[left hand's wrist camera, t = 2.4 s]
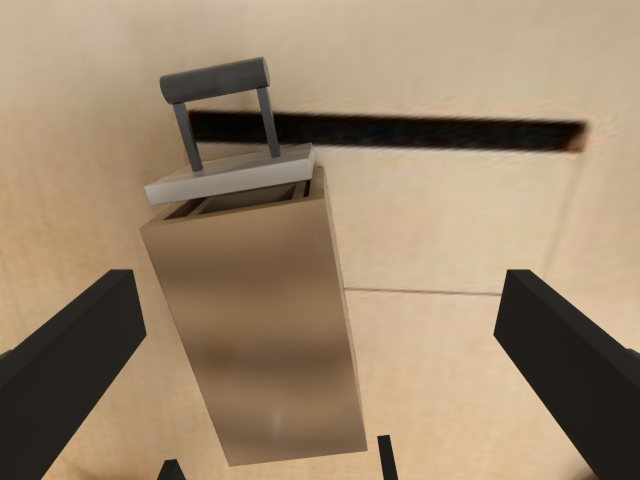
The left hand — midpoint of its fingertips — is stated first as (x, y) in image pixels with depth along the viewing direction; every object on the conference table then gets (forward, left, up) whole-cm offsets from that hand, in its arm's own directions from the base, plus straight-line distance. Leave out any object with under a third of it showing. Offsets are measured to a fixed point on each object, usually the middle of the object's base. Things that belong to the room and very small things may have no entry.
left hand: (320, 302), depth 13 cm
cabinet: (+10, +3, -19) cm, 21 cm away
